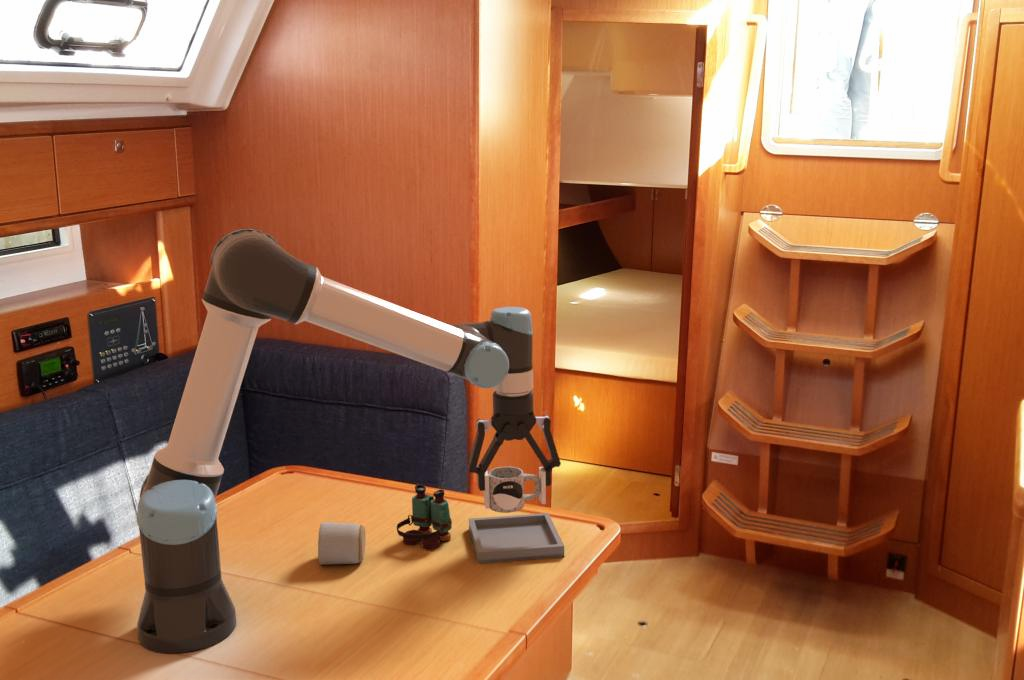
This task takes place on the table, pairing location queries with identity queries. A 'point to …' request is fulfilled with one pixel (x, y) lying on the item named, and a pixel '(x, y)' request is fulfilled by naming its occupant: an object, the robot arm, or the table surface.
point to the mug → (510, 489)
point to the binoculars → (427, 519)
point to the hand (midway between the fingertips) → (514, 503)
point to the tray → (515, 538)
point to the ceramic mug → (341, 543)
